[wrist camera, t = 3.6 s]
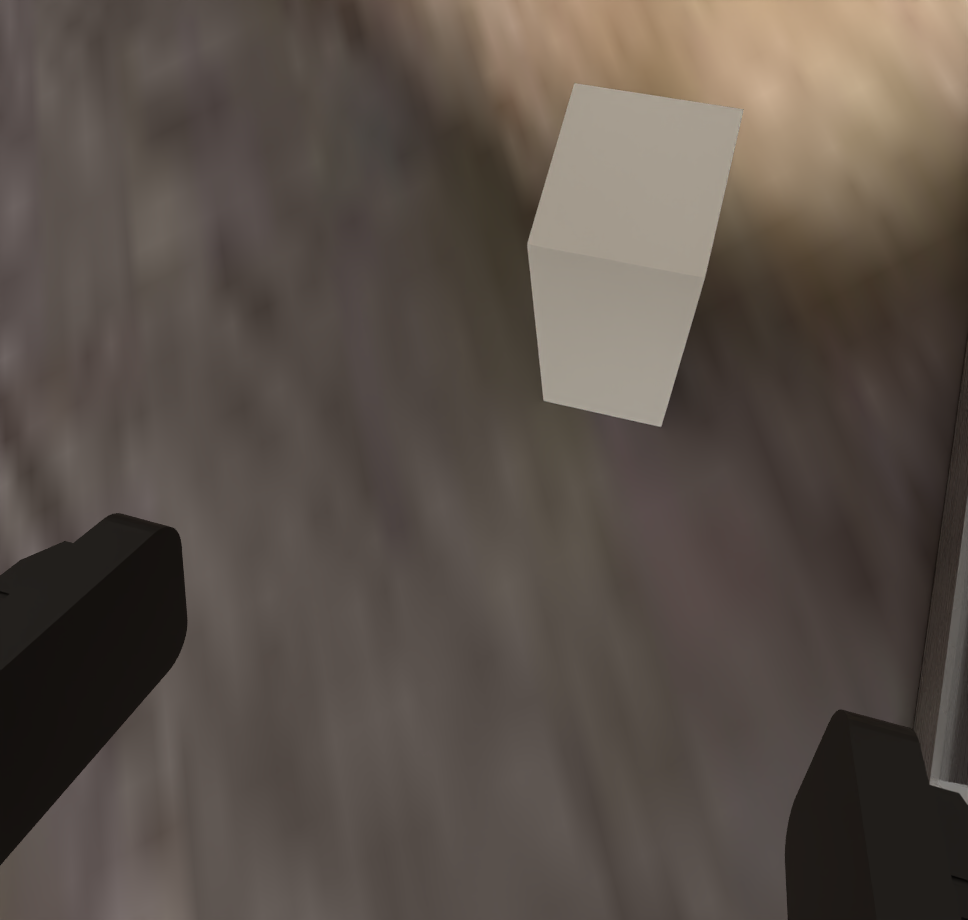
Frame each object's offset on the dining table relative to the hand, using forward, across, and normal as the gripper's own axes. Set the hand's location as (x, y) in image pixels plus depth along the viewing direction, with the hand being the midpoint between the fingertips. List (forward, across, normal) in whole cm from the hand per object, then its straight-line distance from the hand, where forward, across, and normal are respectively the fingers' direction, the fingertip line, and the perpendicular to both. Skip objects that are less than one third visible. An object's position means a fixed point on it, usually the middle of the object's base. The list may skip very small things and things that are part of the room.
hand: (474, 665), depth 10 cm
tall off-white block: (+17, 0, +2) cm, 17 cm away
